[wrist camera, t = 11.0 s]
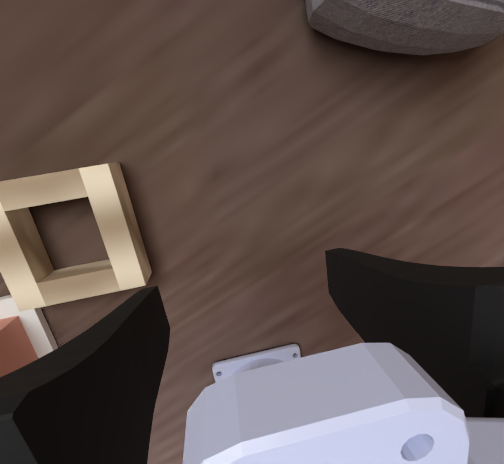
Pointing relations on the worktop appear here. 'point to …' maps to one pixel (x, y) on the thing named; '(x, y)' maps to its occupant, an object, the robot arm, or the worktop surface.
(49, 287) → the pocket holder
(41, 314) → the mat
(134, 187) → the worktop surface
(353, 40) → the grey rounded bag
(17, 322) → the peg
